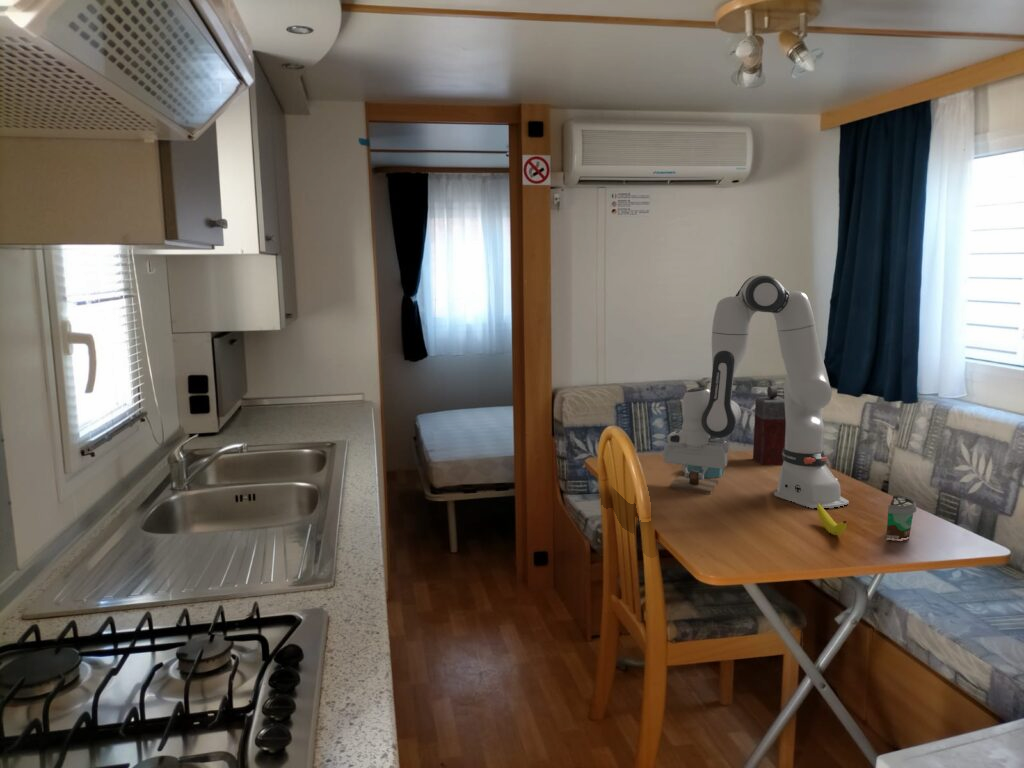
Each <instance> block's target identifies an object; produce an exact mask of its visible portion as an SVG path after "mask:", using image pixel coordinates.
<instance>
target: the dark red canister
mask: <svg viewBox="0 0 1024 768" xmlns="http://www.w3.org/2000/svg"><path fill="white" fill-rule="evenodd" d="M766 393H767V396H757V397H755V404H754V406H755V407H754V427H753V429H754V430H753V431H754V432H753V448H752V451H753V452H752V460H753V461H755V462H756V463H757V464H758V465H760V466H782V465H783V462H784V460H783V455H782V453H783V448H784V447H785V431H786V418H785V402H784V398H782V397H780V396H778V388H777V386H776V385H772V386H771V385H769V386H768V387H767V391H766Z"/></svg>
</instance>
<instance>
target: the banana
mask: <svg viewBox="0 0 1024 768" xmlns="http://www.w3.org/2000/svg"><path fill="white" fill-rule="evenodd" d="M817 515H818V517H819V520H820V522H821V524H822V526H823V528H825V530H826V531H827V532H828V533H829V534H830V533H831V534H830V535H833V536H836V535H837V536H841V535H842V534H844V533H845V530H846V528H847V521H846V520H844V521H842V522H839V523H836V521H834V519H833V518H832V516H830V514H829V513H828V512H827V511H826V509H824V508H823V507H822V506H821V505H820V504H819V503H818V505H817Z"/></svg>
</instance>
